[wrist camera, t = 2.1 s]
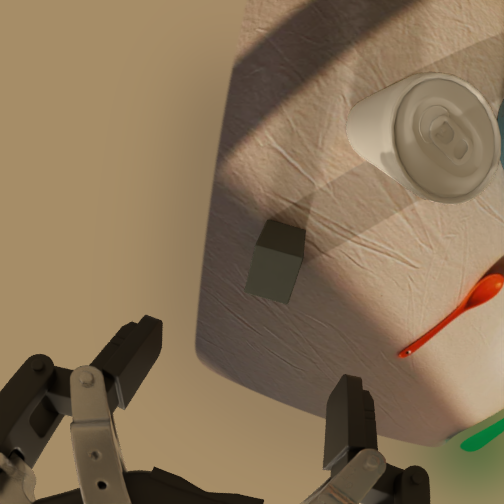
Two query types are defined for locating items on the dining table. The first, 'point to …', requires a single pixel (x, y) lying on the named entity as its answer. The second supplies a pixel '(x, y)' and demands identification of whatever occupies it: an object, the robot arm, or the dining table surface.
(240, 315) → the dining table surface
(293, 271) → the dark gray rectangular block
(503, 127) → the teal round container
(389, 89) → the beverage can
